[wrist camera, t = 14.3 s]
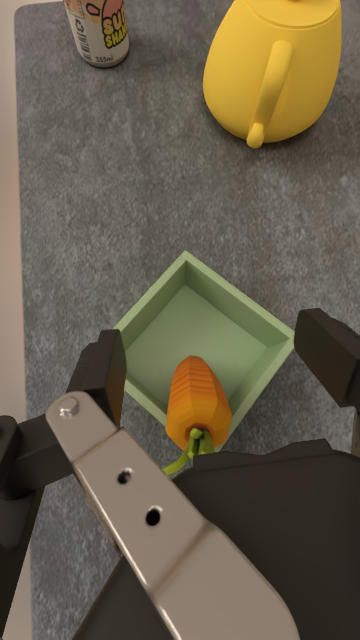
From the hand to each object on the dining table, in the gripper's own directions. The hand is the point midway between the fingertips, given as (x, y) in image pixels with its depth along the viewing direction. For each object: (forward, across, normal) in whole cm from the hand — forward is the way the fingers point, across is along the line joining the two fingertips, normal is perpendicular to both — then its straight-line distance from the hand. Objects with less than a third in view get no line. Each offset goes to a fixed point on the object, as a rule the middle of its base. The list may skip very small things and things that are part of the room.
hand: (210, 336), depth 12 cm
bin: (+14, 0, +12) cm, 18 cm away
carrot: (+13, 0, +12) cm, 17 cm away
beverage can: (+50, +7, -24) cm, 55 cm away
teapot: (+40, -16, -15) cm, 46 cm away
